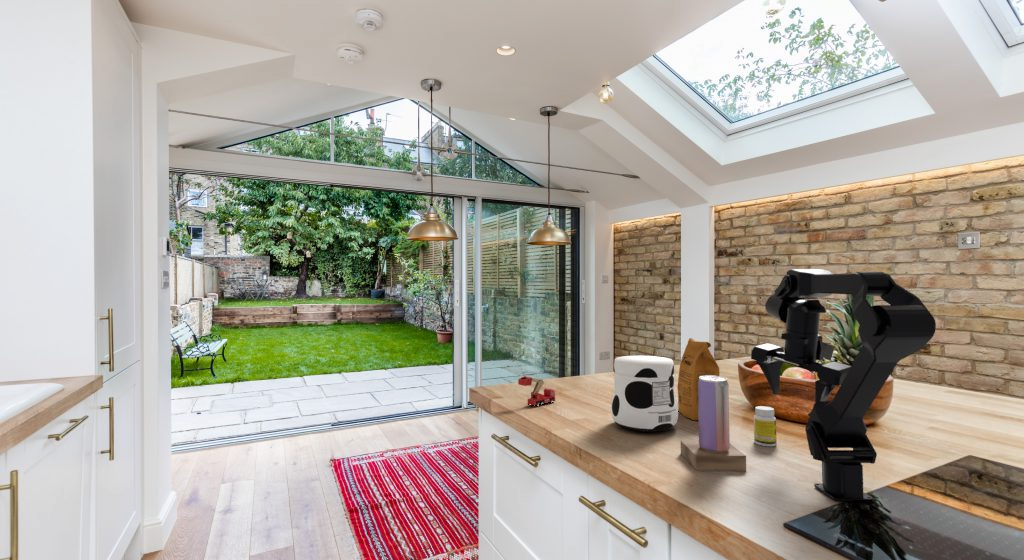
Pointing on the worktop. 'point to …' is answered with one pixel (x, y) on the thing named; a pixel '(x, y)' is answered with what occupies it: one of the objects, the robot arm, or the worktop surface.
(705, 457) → the walnut base brick
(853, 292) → the robot arm
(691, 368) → the coffee package
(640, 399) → the milk container
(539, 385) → the toy fire truck
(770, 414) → the supplement bottle
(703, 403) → the beverage can
